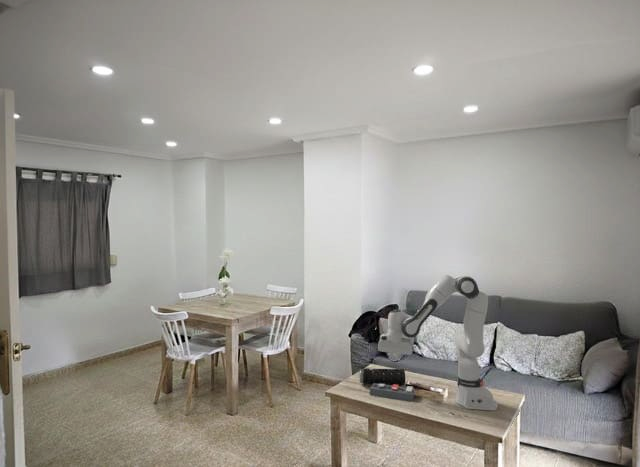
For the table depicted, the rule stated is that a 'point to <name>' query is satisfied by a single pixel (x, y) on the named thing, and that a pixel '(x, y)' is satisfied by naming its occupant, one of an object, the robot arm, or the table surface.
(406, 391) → the rocker
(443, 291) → the robot arm
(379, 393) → the strip housing
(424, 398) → the table surface
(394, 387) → the rocker middle
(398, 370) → the muzzle brake
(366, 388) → the table surface
